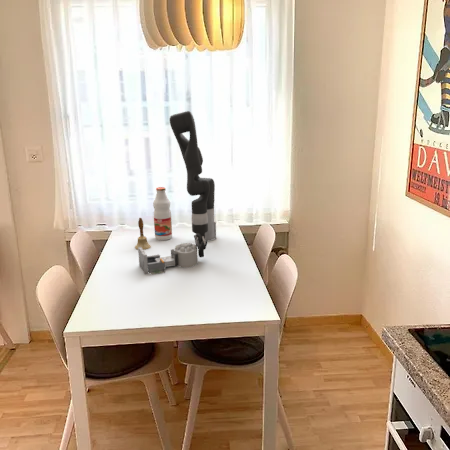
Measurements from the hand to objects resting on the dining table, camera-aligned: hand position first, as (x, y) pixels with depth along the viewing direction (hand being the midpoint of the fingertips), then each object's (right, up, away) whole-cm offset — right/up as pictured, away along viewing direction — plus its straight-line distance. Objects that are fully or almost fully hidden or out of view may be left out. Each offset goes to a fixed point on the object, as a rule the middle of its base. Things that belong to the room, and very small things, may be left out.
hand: (201, 256), depth 236 cm
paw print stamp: (-7, -3, -2) cm, 8 cm away
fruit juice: (-22, +8, +36) cm, 43 cm away
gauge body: (-22, -5, -8) cm, 24 cm away
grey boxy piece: (-15, -4, -7) cm, 17 cm away
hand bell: (-31, +3, +21) cm, 38 cm away
